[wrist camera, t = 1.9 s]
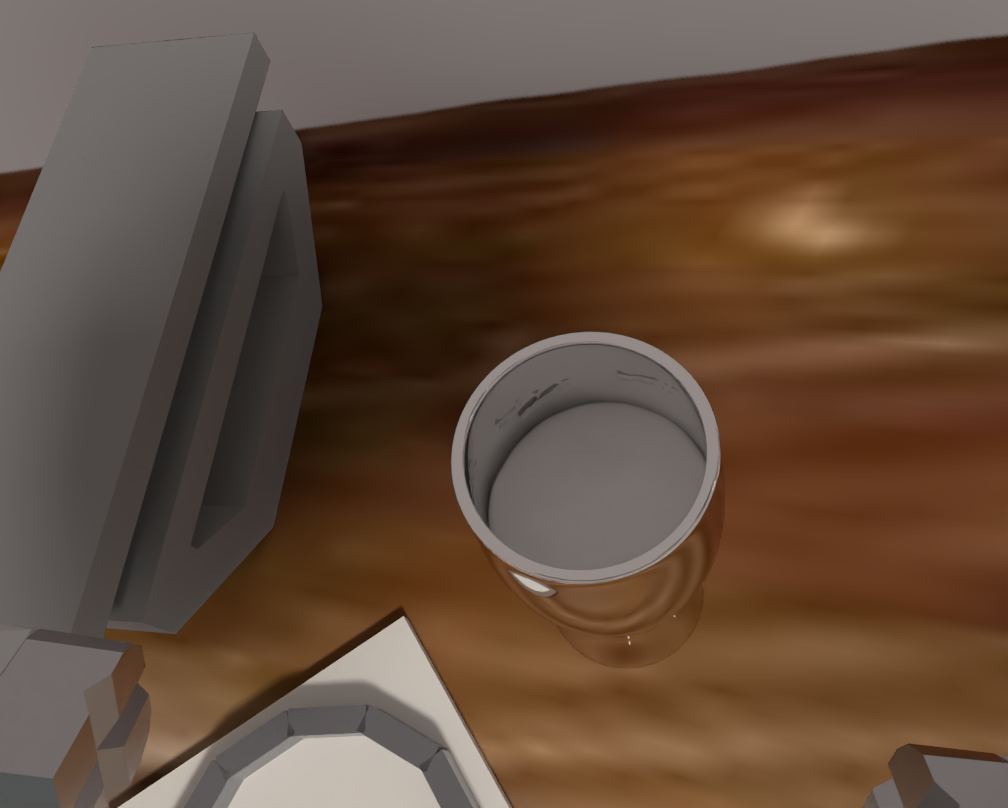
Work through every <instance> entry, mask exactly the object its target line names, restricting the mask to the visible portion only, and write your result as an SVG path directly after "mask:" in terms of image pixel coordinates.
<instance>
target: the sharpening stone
mask: <svg viewBox="0 0 1008 808" xmlns="http://www.w3.org/2000/svg"><path fill="white" fill-rule="evenodd" d="M269 63H270V59H269V58H268V56H267V54H266V52H265V51H264V49H263V47H262V45H261V43H260V42H259V40H258V38H257V36H256V35H255V33H243V34H231V35H220V36H209V37H198V38H187V39H177V40H166V41H154V42H143V43H132V44H122V45H109V46H98V47H92V49H91V51H90V54H89V56H88V58H87V61H86V63H85V66H84V68H83V71H82V73H81V76H80V78H79V80H78V83H77V85H76V88H75V90H74V93H73V95H72V98H71V100H70V103H69V105H68V108H67V110H66V112H65V115H64V117H63V120H62V122H61V125H60V127H59V130H58V132H57V134H56V137H55V139H54V142H53V144H52V147H51V149H50V152H49V154H48V157H47V159H46V162H45V164H44V166H43V169H42V171H41V174H40V176H39V179H38V181H37V184H36V186H35V188H34V191H33V193H32V196H31V198H30V201H29V203H28V206H27V208H26V211H25V213H24V215H23V218H22V220H21V223H20V225H19V228H18V230H17V233H16V235H15V238H14V240H13V242H12V245H11V247H10V250H9V252H8V255H7V257H6V260H5V262H4V265H3V267H2V269H1V272H0V623H4V624H11V625H18V626H25V627H32V628H39V629H46V630H52V631H59V632H65V633H71V634H77V635H84V636H90V637H96V638H103V637H104V633H105V630H106V628H109V629H121V630H134V631H146V632H158V633H170V634H176V633H177V632H178V631H179V630H180V629H181V628H182V627H183V626H184V625H185V623H186V622H187V621H188V620H189V619H190V618H191V617H192V616H193V615H194V614H195V612H196V611H197V610H198V609H199V608H200V607H201V606H202V605H203V604H204V603H205V602H206V600H207V599H208V598H209V597H210V596H211V595H212V594H213V593H214V592H215V591H216V590H217V588H218V587H219V586H220V585H221V584H222V583H223V582H224V581H225V580H226V579H227V577H228V576H229V575H230V574H231V573H232V572H233V571H234V570H235V569H236V568H237V567H238V565H239V564H240V563H241V562H242V561H243V560H244V559H245V558H246V557H247V556H248V555H249V553H250V552H251V551H252V550H253V549H254V548H255V547H256V546H257V545H258V544H259V542H260V541H261V540H262V539H263V538H264V537H265V536H266V535H267V534H268V533H269V532H270V530H271V529H272V528H273V527H274V523H275V518H276V514H277V509H278V505H279V500H280V496H281V491H282V486H283V482H284V477H285V473H286V468H287V464H288V459H289V455H290V450H291V446H292V441H293V437H294V432H295V428H296V423H297V419H298V414H299V410H300V405H301V401H302V396H303V392H304V387H305V383H306V378H307V374H308V369H309V365H310V360H311V356H312V351H313V347H314V342H315V338H316V333H317V329H318V324H319V320H320V315H321V311H322V298H321V290H320V282H319V275H318V267H317V259H316V251H315V243H314V236H313V228H312V220H311V212H310V205H309V197H308V189H307V181H306V173H305V166H304V158H303V150H302V143H301V141H300V140H299V138H298V136H297V134H296V133H295V131H294V129H293V128H292V126H291V124H290V123H289V121H288V120H287V117H286V116H285V114H284V112H283V111H282V110H277V111H276V110H275V111H261V112H256V108H257V105H258V102H259V98H260V95H261V91H262V87H263V84H264V81H265V77H266V74H267V71H268V67H269Z"/></svg>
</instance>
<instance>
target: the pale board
mask: <svg viewBox="0 0 1008 808" xmlns="http://www.w3.org/2000/svg"><path fill="white" fill-rule="evenodd" d="M362 704H367V705H371V706H374V707H377V708H380V709H382V710H384V711H385V712H387V713H389V714H390V715H392V716H394V717H395V718H397V719H399V720H401V721H402V722H404V723H406V724H407V725H409V726H411V727H412V728H414V729H416V730H417V731H419V732H421V733H422V734H424V735H426V736H427V737H429V738H431V739H433V740H434V741H436V742H438V743H439V744H441V745H443V746H444V747H446V748H447V750H446V751H450V752H451V754H452V755H453V757H454V759H455V761H456V763H457V765H458V767H459V768H460V770H461V772H462V774H463V776H464V778H465V780H466V782H467V783H468V785H469V787H470V789H471V791H472V793H473V795H474V797H475V798H476V800H477V802H478V804H479V806H480V808H512V806H511V805H510V803H509V801H508V799H507V797H506V796H505V794H504V792H503V790H502V788H501V786H500V785H499V783H498V781H497V779H496V777H495V776H494V774H493V772H492V770H491V768H490V767H489V765H488V763H487V761H486V759H485V758H484V756H483V754H482V752H481V750H480V749H479V747H478V745H477V743H476V741H475V739H474V738H473V736H472V734H471V732H470V730H469V729H468V727H467V725H466V723H465V721H464V720H463V718H462V716H461V714H460V712H459V711H458V709H457V707H456V705H455V703H454V701H453V700H452V698H451V696H450V694H449V692H448V691H447V689H446V687H445V685H444V683H443V682H442V680H441V678H440V676H439V674H438V673H437V671H436V669H435V667H434V665H433V664H432V662H431V660H430V658H429V656H428V654H427V653H426V651H425V649H424V647H423V645H422V644H421V642H420V640H419V638H418V636H417V635H416V633H415V631H414V629H413V627H412V626H411V624H410V622H409V620H408V619H407V618H406V617H404V616H403V617H401V618H400V619H398V620H397V621H395V622H394V623H392V624H391V625H389V626H388V627H386V628H385V629H383V630H382V631H380V632H379V633H377V634H376V635H374V636H373V637H371V638H370V639H369V640H367V641H366V642H364V643H363V644H361V645H360V646H358V647H357V648H355V649H354V650H352V651H351V652H349V653H348V654H346V655H345V656H343V657H342V658H340V659H339V660H337V661H336V662H334V663H333V664H331V665H330V666H328V667H327V668H325V669H324V670H322V671H321V672H319V673H318V674H316V675H315V676H313V677H312V678H310V679H309V680H307V681H306V682H304V683H303V684H301V685H300V686H298V687H297V688H295V689H294V690H292V691H291V692H289V693H288V694H286V695H285V696H283V697H282V698H280V699H279V700H277V701H276V702H274V703H273V704H272V705H270V706H269V707H267V708H266V709H264V710H263V711H261V712H260V713H258V714H257V715H255V716H254V717H252V718H251V719H249V720H248V721H246V722H245V723H243V724H242V725H240V726H239V727H237V728H236V729H234V730H233V731H231V732H230V733H228V734H227V735H225V736H224V737H222V738H221V739H219V740H218V741H216V742H215V743H213V744H212V745H210V746H209V747H207V748H206V749H204V750H203V751H201V752H200V753H198V754H197V755H195V756H194V757H192V758H191V759H189V760H188V761H186V762H185V763H183V764H182V765H180V766H179V767H177V768H176V769H175V770H173V771H172V772H170V773H169V774H167V775H166V776H164V777H163V778H161V779H160V780H158V781H157V782H155V783H154V784H152V785H151V786H149V787H148V788H146V789H145V790H143V791H142V792H140V793H139V794H137V795H136V796H134V797H133V798H131V799H130V800H128V801H127V802H125V803H124V804H122V805H121V806H119V807H118V808H184V807H185V805H186V803H187V802H188V800H189V798H190V797H191V795H192V793H193V792H194V790H195V788H196V786H197V785H198V783H199V781H200V780H201V778H202V776H203V775H204V773H205V771H206V770H207V768H208V766H209V764H210V763H211V761H212V760H215V761H217V760H216V758H215V757H216V756H217V755H219V754H220V753H222V752H223V751H225V750H226V749H228V748H229V747H231V746H232V745H233V744H235V743H236V742H238V741H239V740H241V739H242V738H244V737H245V736H247V735H248V734H250V733H251V732H253V731H254V730H256V729H257V728H259V727H260V726H262V725H263V724H265V723H266V722H268V721H269V720H271V719H272V718H274V717H275V716H277V715H278V714H280V713H281V712H283V711H284V710H287V711H289V709H291V708H309V707H327V706H345V705H362ZM228 808H440V806H439V804H438V802H437V800H436V798H435V796H434V794H433V792H432V790H431V788H430V786H429V784H428V782H427V780H426V778H425V776H424V775H423V773H422V771H421V770H420V769H418V768H417V767H415V766H414V765H412V764H410V763H409V762H407V761H405V760H404V759H402V758H401V757H399V756H397V755H396V754H394V753H392V752H391V751H389V750H387V749H386V748H384V747H383V746H381V745H379V744H378V743H376V742H374V741H373V740H371V739H370V738H368V737H366V736H348V737H328V738H307V739H303V740H301V741H300V742H298V743H297V744H295V745H294V746H292V747H291V748H290V749H288V750H287V751H285V752H284V753H282V754H281V755H279V756H278V757H276V758H275V759H273V760H272V761H270V762H269V763H267V764H266V765H264V766H263V767H261V768H260V769H258V770H257V771H256V772H254V773H253V774H251V775H250V776H248V777H247V778H245V779H244V780H243V782H242V784H241V785H240V787H239V789H238V790H237V792H236V794H235V796H234V797H233V799H232V801H231V803H230V804H229V806H228Z"/></svg>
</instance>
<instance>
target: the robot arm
mask: <svg viewBox="0 0 1008 808" xmlns="http://www.w3.org/2000/svg"><path fill="white" fill-rule="evenodd" d="M144 668H145V662H144V656H143V651H142V646H141V645H139V644H134V643H128V642H121V641H115V640H109V639H103V638H96V637H90V636H84V635H77V634H71V633H65V632H59V631H52V630H46V629H39V628H32V627H25V626H18V625H11V624H4V623H0V808H108V807H107V801H109V800H110V799H112V798H113V797H114V796H116V795H117V794H118V793H120V792H121V791H122V790H124V789H125V788H126V787H128V786H129V785H130V783H131V781H132V779H133V777H134V774H135V772H136V770H137V768H138V765H139V763H140V761H141V759H142V755H143V751H144V748H145V744H146V740H147V737H148V733H149V728H150V715H151V706H150V698H149V694H148V693H147V692H146V691H145V690H144V689H143V688H142V687H141V686H140V685H139V684H138V683H137V682H138V680H139V678H140V676H141V674H142V672H143V670H144ZM888 765H889V768H890V771H891V774H892V776H893V779H891V780H889V781H887V782H885V783H883V784H881V785H879V786H877V787H875V788H873V789H872V791H871V793H870V795H869V797H868V799H867V800H866V802H865V804H864V806H863V808H1008V756H998V755H996V754H993V753H985V752H976V751H968V750H959V749H951V748H942V747H933V746H925V745H916V744H906V745H904V746H902V747H900V748H898V749H897V750H896V752H895V753H894V755H893V756H892V758H891V759H890V761H889V763H888Z"/></svg>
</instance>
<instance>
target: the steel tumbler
mask: <svg viewBox="0 0 1008 808" xmlns="http://www.w3.org/2000/svg"><path fill="white" fill-rule="evenodd" d="M451 474H452V482H453V487H454V492H455V495H456V499H457V502H458V504H459V507H460V509H461V511H462V514H463V516H464V518H465V519H466V521H467V523H468V524H469V526H470V528H471V529H472V530H473V533H474V535H475V537H476V539H477V541H478V543H479V545H480V547H481V549H482V551H483V553H484V554H485V556H486V558H487V559H488V561H489V562H490V564H491V565H492V567H493V568H494V570H495V571H496V573H497V574H498V576H499V577H500V579H501V580H502V581H503V582H504V584H505V585H506V586H507V587H508V588H509V589H510V590H511V591H512V592H513V593H514V594H515V595H516V596H517V597H518V598H519V599H520V600H521V601H522V602H523V603H524V604H525V605H526V606H527V607H529V608H530V609H531V610H532V611H534V612H535V613H536V614H538V615H539V616H541V617H542V618H544V619H546V620H548V621H549V622H551V623H553V624H556V625H557V627H558V629H559V631H560V632H561V634H562V635H563V636H564V638H565V639H566V640H567V641H568V642H569V644H570V645H571V646H572V647H573V648H575V649H576V650H577V651H578V652H579V653H581V654H582V655H584V656H585V657H587V658H589V659H591V660H593V661H595V662H597V663H600V664H603V665H606V666H610V667H615V668H639V667H644V666H648V665H651V664H654V663H656V662H659V661H661V660H663V659H665V658H666V657H668V656H670V655H671V654H672V653H674V652H675V651H676V650H678V649H679V648H680V647H681V646H682V645H683V644H684V643H685V642H686V640H687V639H688V638H689V636H690V635H691V633H692V632H693V630H694V628H695V626H696V624H697V621H698V619H699V616H700V613H701V609H702V604H703V594H704V589H703V582H704V581H705V579H706V577H707V576H708V574H709V572H710V570H711V568H712V566H713V563H714V561H715V558H716V555H717V552H718V548H719V544H720V539H721V535H722V530H723V525H724V515H725V484H724V474H723V466H722V459H721V440H720V433H719V428H718V424H717V420H716V417H715V414H714V412H713V409H712V407H711V404H710V402H709V400H708V398H707V397H706V395H705V393H704V392H703V390H702V388H701V387H700V385H699V384H698V383H697V381H696V380H695V379H694V378H693V377H692V375H691V374H690V373H689V372H688V371H687V370H686V369H685V368H684V367H683V366H682V365H681V364H679V363H678V362H677V361H676V360H675V359H673V358H672V357H671V356H669V355H668V354H666V353H665V352H663V351H661V350H660V349H658V348H656V347H654V346H652V345H650V344H648V343H646V342H643V341H640V340H638V339H635V338H632V337H628V336H624V335H620V334H614V333H607V332H575V333H568V334H562V335H558V336H554V337H550V338H547V339H544V340H541V341H538V342H536V343H533V344H531V345H529V346H527V347H525V348H523V349H521V350H519V351H518V352H516V353H514V354H513V355H511V356H510V357H508V358H507V359H505V360H504V361H503V362H501V363H500V364H499V365H498V366H497V367H495V368H494V369H493V370H492V371H491V372H490V373H489V374H488V375H487V376H486V377H485V378H484V379H483V380H482V382H481V383H480V384H479V385H478V386H477V388H476V389H475V390H474V392H473V393H472V395H471V396H470V398H469V400H468V401H467V403H466V405H465V407H464V409H463V411H462V413H461V416H460V418H459V421H458V423H457V426H456V430H455V433H454V438H453V443H452V451H451Z"/></svg>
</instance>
